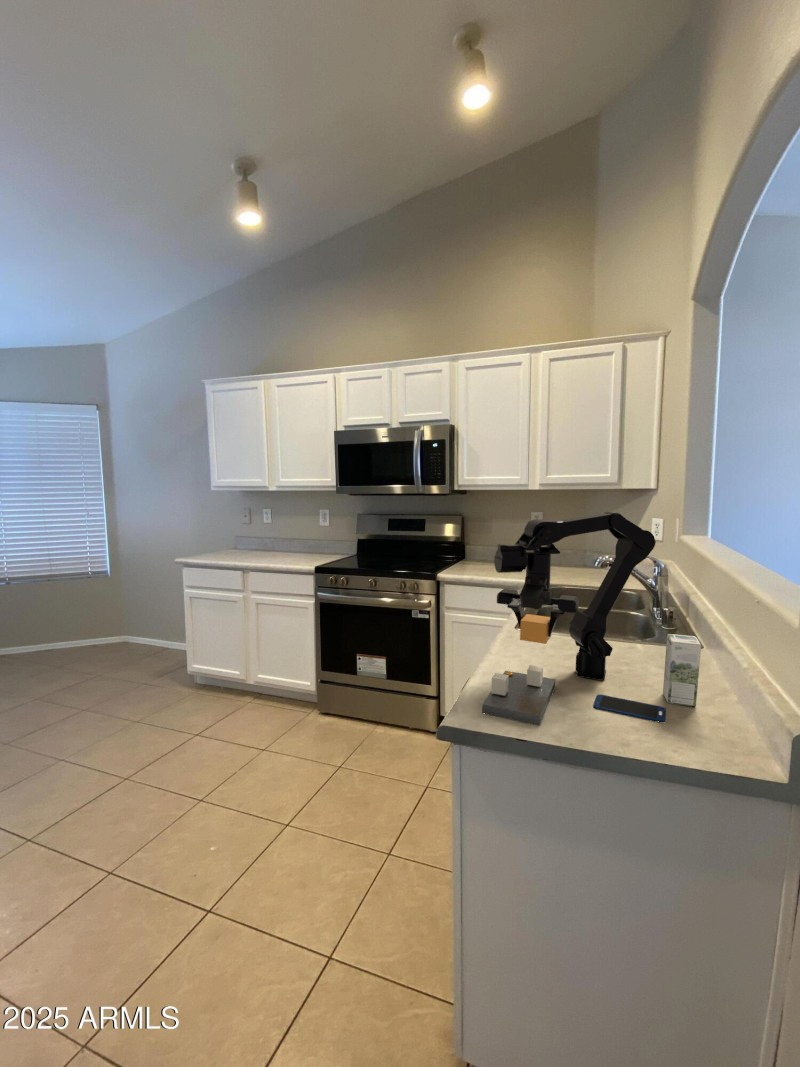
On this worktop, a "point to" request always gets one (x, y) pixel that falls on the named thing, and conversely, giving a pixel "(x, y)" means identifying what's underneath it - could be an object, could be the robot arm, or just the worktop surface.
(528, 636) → the orange squarish block
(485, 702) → the panel
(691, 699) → the syrup box
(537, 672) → the light grey block
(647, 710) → the cell phone
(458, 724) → the worktop surface
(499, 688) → the block
